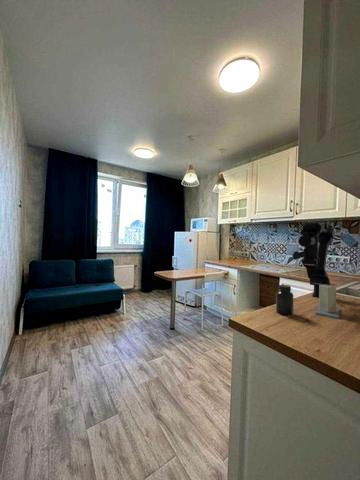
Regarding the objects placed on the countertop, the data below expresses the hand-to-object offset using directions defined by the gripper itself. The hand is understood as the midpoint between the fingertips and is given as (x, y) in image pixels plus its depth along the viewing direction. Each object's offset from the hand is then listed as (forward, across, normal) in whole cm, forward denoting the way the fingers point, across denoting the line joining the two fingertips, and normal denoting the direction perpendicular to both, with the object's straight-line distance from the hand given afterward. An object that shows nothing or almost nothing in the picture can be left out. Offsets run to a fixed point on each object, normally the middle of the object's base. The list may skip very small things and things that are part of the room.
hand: (310, 277), depth 107 cm
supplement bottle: (+14, +25, -7) cm, 29 cm away
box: (+13, +12, +8) cm, 19 cm away
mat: (+13, +11, +8) cm, 19 cm away
